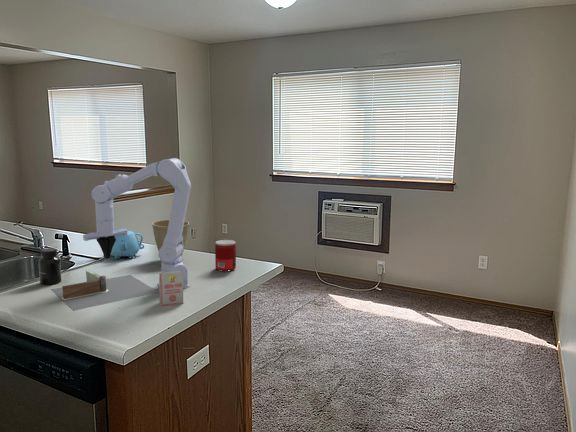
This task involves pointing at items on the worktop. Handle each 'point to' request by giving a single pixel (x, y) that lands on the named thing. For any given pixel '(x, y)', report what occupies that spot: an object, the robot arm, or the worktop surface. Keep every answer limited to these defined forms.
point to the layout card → (109, 293)
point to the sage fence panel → (91, 276)
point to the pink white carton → (171, 288)
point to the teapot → (127, 245)
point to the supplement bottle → (49, 267)
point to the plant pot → (161, 232)
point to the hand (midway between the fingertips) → (107, 258)
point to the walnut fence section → (84, 288)
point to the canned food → (225, 255)
